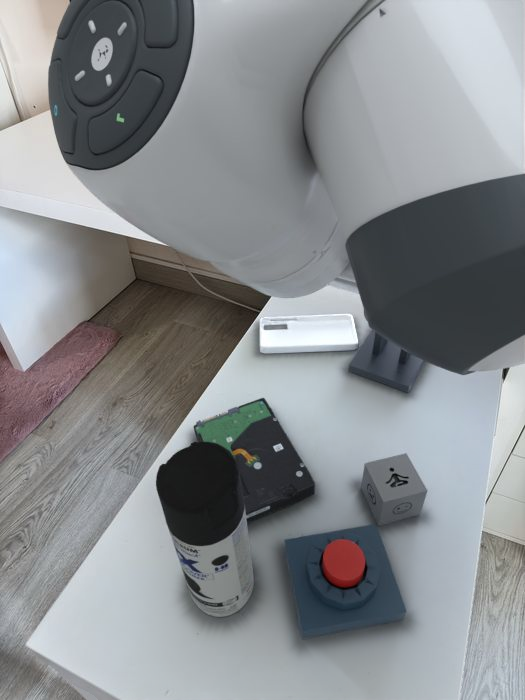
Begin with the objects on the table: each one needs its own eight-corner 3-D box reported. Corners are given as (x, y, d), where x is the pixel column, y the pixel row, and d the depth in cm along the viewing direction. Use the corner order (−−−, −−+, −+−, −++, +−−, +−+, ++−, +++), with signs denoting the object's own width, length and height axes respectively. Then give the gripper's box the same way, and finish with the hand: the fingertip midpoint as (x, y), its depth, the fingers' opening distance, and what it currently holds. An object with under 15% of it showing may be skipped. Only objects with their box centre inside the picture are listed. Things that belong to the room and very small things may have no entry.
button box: (374, 533, 55) (378, 515, 53) (403, 620, 49) (409, 603, 46) (284, 549, 55) (284, 531, 52) (302, 639, 48) (302, 623, 45)
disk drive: (316, 495, 59) (264, 408, 69) (317, 482, 57) (263, 394, 67) (235, 531, 56) (193, 435, 66) (233, 519, 55) (190, 422, 64)
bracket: (407, 393, 70) (423, 322, 62) (348, 371, 74) (355, 301, 65) (434, 342, 78) (451, 272, 69) (378, 324, 81) (388, 256, 73)
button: (356, 544, 51) (358, 535, 50) (369, 584, 48) (370, 576, 47) (318, 551, 51) (318, 542, 49) (328, 591, 48) (328, 583, 46)
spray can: (177, 582, 52) (136, 473, 39) (227, 539, 56) (205, 425, 42) (217, 633, 49) (186, 532, 35) (268, 584, 52) (258, 474, 38)
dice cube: (378, 525, 56) (383, 502, 53) (360, 487, 60) (364, 463, 56) (419, 514, 57) (427, 490, 53) (400, 477, 60) (406, 453, 57)
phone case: (260, 354, 77) (358, 350, 77) (259, 347, 76) (358, 343, 76) (259, 323, 83) (351, 319, 82) (259, 317, 82) (352, 313, 81)
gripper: (481, 207, 26) (480, 271, 38) (169, 143, 34) (253, 213, 47) (437, 323, 26) (451, 349, 39) (138, 232, 34) (230, 278, 47)
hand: (341, 274), depth 43 cm, fingers open, 8 cm apart
